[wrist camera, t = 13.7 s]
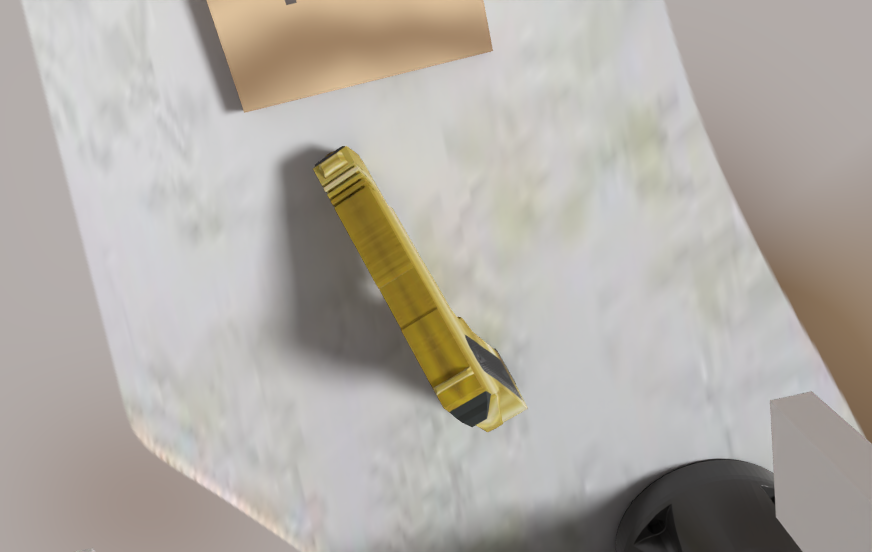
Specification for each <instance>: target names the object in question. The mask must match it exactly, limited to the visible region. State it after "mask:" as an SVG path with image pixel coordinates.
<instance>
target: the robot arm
mask: <svg viewBox="0 0 872 552" xmlns="http://www.w3.org/2000/svg"><path fill="white" fill-rule="evenodd" d="M770 411H771V431H772V450H773V469H774V473H772V472H771V471H769V470H767V469H765V468H763V467H761V466H758V465H755V464H752V463H748V462H743V461H736V460H713V461H705V462H700V463H696V464H692V465H689V466H685V467H683V468H680V469H677V470H675V471H673V472H671V473H669V474H667V475H665V476H663V477H662V478H660V479H658V480H657V481H655V482H654V483H652V484H651V485H650V486H649V487H647V488H646V489H645V490H644V491H643V492H642V493H641V494H640V495H639V496H638V497H637V498H636V499H635V500H634V501H633V502H632V504H631V505H630V506H629V508H628V509H627V511H626V513H625V514H624V516H623V518H622V520H621V522H620V525H619V528H618V532H617V537H616V552H872V444H871V443H870V442H869V441H868V440H867V439H865V438H864V437H863V436H862V435H861V434H860V433H859V432H857V431H856V430H855V429H854V428H853V427H852V426H851V425H849V424H848V423H847V422H846V421H845V420H844V419H843V418H841V417H840V416H839V415H838V414H837V413H836V412H835V411H833V410H832V409H831V408H830V407H829V406H828V405H827V404H826V403H824V402H823V401H822V400H821V399H820V398H819V397H818V396H816V395H815V394H814V393H813V392H812V391H811V392H807V393H802V394H797V395H793V396H788V397H784V398H779V399H774V400H770ZM76 552H95V550H94V549H93V548H90V549H85V550H80V551H76Z"/></svg>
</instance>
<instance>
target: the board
mask: <svg viewBox="0 0 872 552" xmlns="http://www.w3.org/2000/svg"><path fill="white" fill-rule="evenodd" d="M207 3H208V6H209V9H210V12H211V15H212V18H213V21H214V24H215V27H216V30H217V33H218V36H219V39H220V42H221V45H222V48H223V51H224V54H225V57H226V60H227V63H228V66H229V69H230V72H231V74H232V77H233V80H234V83H235V86H236V89H237V92H238V95H239V98H240V101H241V104H242V107H243V110H244V113H245V112H249V111H253V110H257V109H261V108H265V107H269V106H273V105H277V104H281V103H285V102H289V101H293V100H297V99H301V98H305V97H309V96H313V95H318V94H322V93H326V92H330V91H334V90H338V89H342V88H346V87H350V86H354V85H358V84H362V83H366V82H370V81H374V80H378V79H382V78H386V77H390V76H394V75H398V74H402V73H406V72H410V71H414V70H418V69H422V68H426V67H430V66H434V65H438V64H442V63H446V62H450V61H454V60H458V59H462V58H466V57H470V56H474V55H479V54H483V53H487V52H491V51H493V49H492V44H491V38H490V33H489V28H488V22H487V17H486V12H485V7H484V1H483V0H207Z"/></svg>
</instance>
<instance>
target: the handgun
mask: <svg viewBox="0 0 872 552" xmlns="http://www.w3.org/2000/svg"><path fill="white" fill-rule="evenodd" d="M313 170H314V172H315V174H316V176H317V177H318V179H319V181H320V183H321V185H322V186H323V187H324V190H325V192H326V193H327V196H328V197H329V199H330V200H331V203H332V204H333V206H334V207H335V210H336V212H337V214H338V216H339V218H340V219H341V221H342V223H343V225H344V227H345V229H346V230H347V232H348V234H349V236H350V238H351V240H352V241H353V243H354V245H355V247H356V249H357V250H358V252H359V254H360V256H361V258H362V260H363V261H364V263H365V265H366V267H367V269H368V271H369V272H370V274H371V276H372V278H373V280H374V282H375V283H376V285H377V286H378V288H379V289H380V291H381V293H382V295H383V297H384V299H385V300H386V302H387V304H388V306H389V308H390V310H391V311H392V313H393V315H394V317H395V319H396V321H397V322H398V324H399V326H400V328H401V331H402V333H403V335H404V337H405V338H406V340H407V342H408V344H409V346H410V348H411V349H412V351H413V353H414V355H415V357H416V359H417V360H418V362H419V364H420V366H421V368H422V370H423V371H424V373H425V375H426V377H427V379H428V381H429V382H430V384H431V386H432V388H433V390H434V392H435V393H436V395H437V397H438V399H439V400H440V402H441V404H442V406H443V408H444V409H446V410H447V411H448V412H450V413H451V414H452V415H453V416H454V417H456V418H457V419H458V420H460V421H461V422H462V423H464V424H466V425H469V426H471V427H473V426H475V425H476V426H478V427H479V428H481V429H483V430H485V431H486V432H489V431H491V430H494V429H496V428H497V427H499V426H500V425H502V424H503V422H505V421H507V420H508V419H510V418H512V417H514V416H516V415H517V414H519V413H521V412H523V411H524V410H526V409H528V408H527V406H526V404H525V402H524V400H523V398H522V396H521V394H520V392H519V390H518V388H517V386H516V385H515V384H516V383H515V381H514V380H513V378H512V376H511V374H510V372H509V371H508V369H507V367H506V365H505V364H504V362H503V360H502V358H501V356H500V355H499V353H498V351H497V350H496V349H493V348H492V347H491V346H489V345H488V344H487V343H486V342H484V341H483V340H482V339H481V338H480V337H478V336H477V335H476V334H475V333H473V332H472V330H471V329H470V328H469V326H468V325H467V324H466V322H465V321H464V320H463V319H462V318H461V317H456V315H455V314H454V313H453V311H452V310H451V309H450V307H449V305H448V303H447V302H446V300H445V298H444V296H443V295H442V293H441V291H440V289H439V288H438V286H437V284H436V282H435V281H434V279H433V277H432V276H431V274H430V272H429V271H428V269H427V267H426V266H425V264H424V262H423V261H422V259H421V257H420V256H419V254H418V252H417V250H416V249H415V247H414V245H413V243H412V242H411V240H410V238H409V236H408V235H407V233H406V231H405V229H404V228H403V226H402V224H401V222H400V221H399V219H398V217H397V215H396V214H395V212H394V210H393V208H391V207H390V206H388V205H387V203H386V201H385V200H384V198H383V196H382V194H381V193H380V191H379V189H378V187H377V186H376V184H375V182H374V180H373V179H372V177H371V175H370V173H369V171H368V170H367V168H366V166H365V164H364V163H363V161H362V160H361V159H360V157H359V155H358V154H356V153H355V152H354V151H353V150H351V149H350V148H349V147H347V146H346V147H345V146H342V147H340V148H339V149H337V150H336V151H333V152H331V153H329V154H328V155H327V156H326V157H325V158H324V159H323V160H321V161H320V162H318V163H317V164H316V165H315V168H313Z"/></svg>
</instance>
